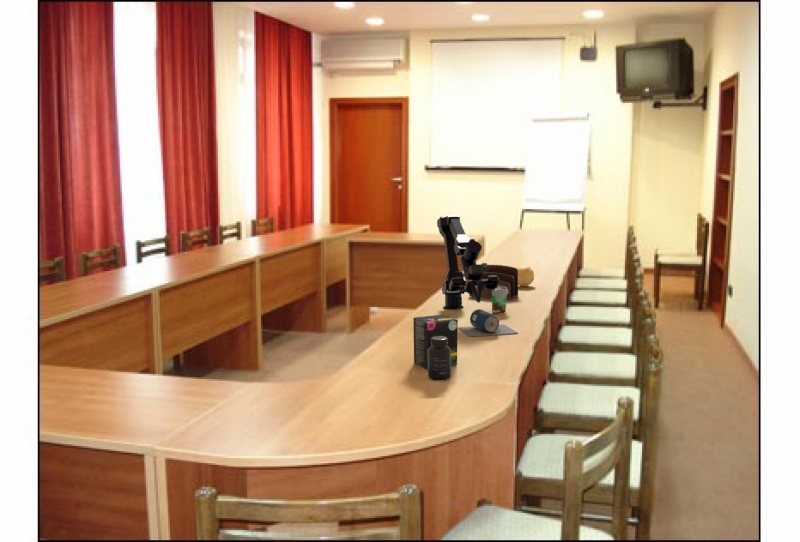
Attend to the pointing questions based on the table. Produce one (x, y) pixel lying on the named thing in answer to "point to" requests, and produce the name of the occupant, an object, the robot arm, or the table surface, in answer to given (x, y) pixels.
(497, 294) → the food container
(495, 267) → the letter holder
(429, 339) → the tampon box
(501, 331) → the mat
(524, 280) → the stress ball
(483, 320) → the soda can
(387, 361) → the table surface
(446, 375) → the supplement bottle
